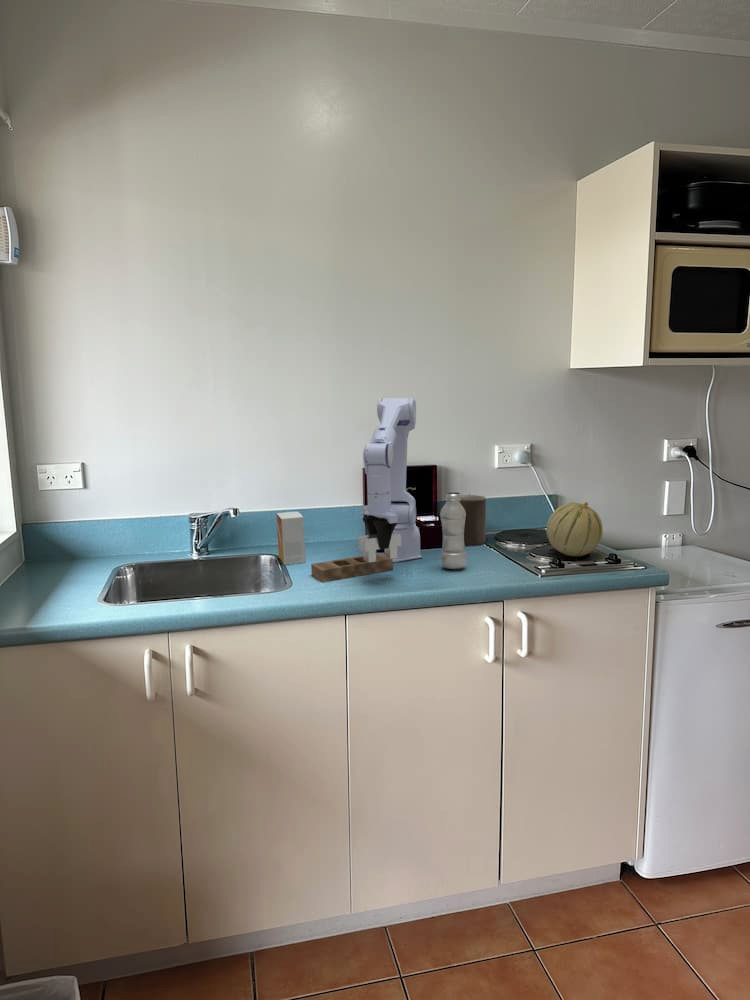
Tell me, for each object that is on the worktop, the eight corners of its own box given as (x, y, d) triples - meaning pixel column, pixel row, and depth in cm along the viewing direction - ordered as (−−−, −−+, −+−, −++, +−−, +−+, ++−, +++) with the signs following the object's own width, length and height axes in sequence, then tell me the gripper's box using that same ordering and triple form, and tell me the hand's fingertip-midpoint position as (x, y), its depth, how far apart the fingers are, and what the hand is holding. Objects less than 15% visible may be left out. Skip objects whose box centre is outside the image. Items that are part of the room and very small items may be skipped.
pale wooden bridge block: (394, 554, 178) (393, 531, 177) (401, 557, 175) (401, 533, 173) (359, 560, 173) (358, 536, 172) (365, 563, 170) (365, 539, 169)
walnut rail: (380, 563, 190) (379, 553, 189) (392, 569, 184) (392, 558, 183) (311, 575, 181) (311, 564, 180) (322, 582, 175) (322, 570, 174)
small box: (278, 558, 198) (275, 512, 196) (300, 555, 200) (298, 511, 198) (283, 565, 191) (280, 518, 188) (306, 562, 193) (304, 516, 190)
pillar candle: (470, 547, 204) (471, 497, 201) (446, 542, 211) (446, 492, 209) (492, 542, 210) (493, 493, 208) (467, 536, 218) (468, 489, 215)
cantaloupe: (541, 548, 201) (542, 497, 198) (593, 548, 200) (595, 496, 198) (552, 563, 186) (553, 507, 184) (608, 562, 186) (610, 506, 183)
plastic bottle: (465, 572, 180) (465, 495, 176) (439, 571, 181) (438, 495, 177) (467, 565, 186) (467, 491, 182) (442, 564, 187) (441, 490, 184)
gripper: (351, 489, 175) (352, 542, 178) (378, 498, 163) (379, 555, 165) (376, 487, 178) (377, 538, 181) (404, 495, 166) (405, 551, 168)
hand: (380, 546), depth 173 cm, fingers closed on pale wooden bridge block, 4 cm apart
